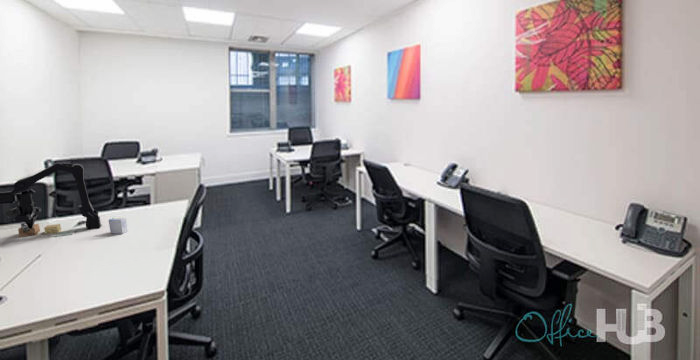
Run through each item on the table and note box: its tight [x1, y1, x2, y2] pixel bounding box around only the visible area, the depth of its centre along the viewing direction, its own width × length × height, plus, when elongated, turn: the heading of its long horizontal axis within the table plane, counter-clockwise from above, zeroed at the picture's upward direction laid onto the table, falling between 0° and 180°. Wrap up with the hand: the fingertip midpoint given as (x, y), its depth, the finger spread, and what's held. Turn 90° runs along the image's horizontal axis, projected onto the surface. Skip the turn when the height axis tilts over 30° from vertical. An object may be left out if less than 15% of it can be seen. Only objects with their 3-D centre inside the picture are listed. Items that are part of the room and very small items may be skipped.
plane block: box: [17, 223, 41, 238], centre depth 195 cm, size 7×7×4 cm
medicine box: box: [108, 216, 129, 235], centre depth 198 cm, size 8×4×9 cm, turn 84°
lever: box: [20, 222, 30, 232], centre depth 189 cm, size 11×3×2 cm, turn 50°
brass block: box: [43, 223, 62, 235], centre depth 198 cm, size 6×4×4 cm
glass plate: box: [54, 229, 76, 238], centre depth 196 cm, size 8×7×1 cm
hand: (30, 228), depth 189 cm, fingers closed
